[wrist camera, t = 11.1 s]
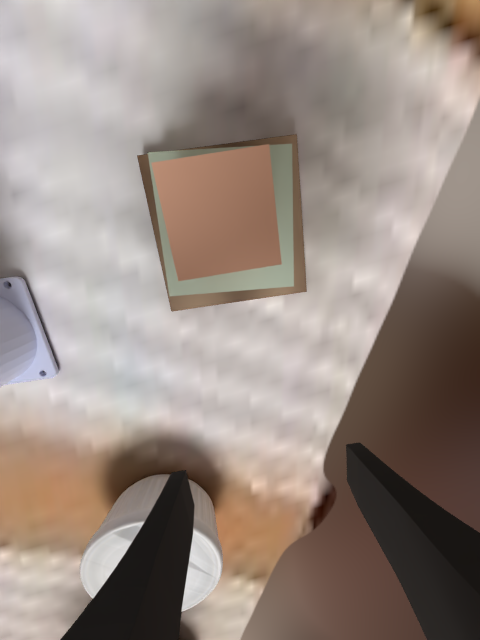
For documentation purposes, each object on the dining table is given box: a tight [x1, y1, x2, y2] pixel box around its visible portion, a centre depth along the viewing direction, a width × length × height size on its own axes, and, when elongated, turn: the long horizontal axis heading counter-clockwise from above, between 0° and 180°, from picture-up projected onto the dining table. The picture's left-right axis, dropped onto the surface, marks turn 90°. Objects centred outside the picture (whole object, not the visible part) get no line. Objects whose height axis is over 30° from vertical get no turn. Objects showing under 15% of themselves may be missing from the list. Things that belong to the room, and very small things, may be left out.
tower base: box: [137, 134, 307, 311], centre depth 18 cm, size 10×10×2 cm
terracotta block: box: [151, 144, 282, 281], centre depth 12 cm, size 4×4×5 cm
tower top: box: [148, 144, 294, 296], centre depth 16 cm, size 8×8×2 cm
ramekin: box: [80, 474, 223, 612], centre depth 22 cm, size 11×11×5 cm
